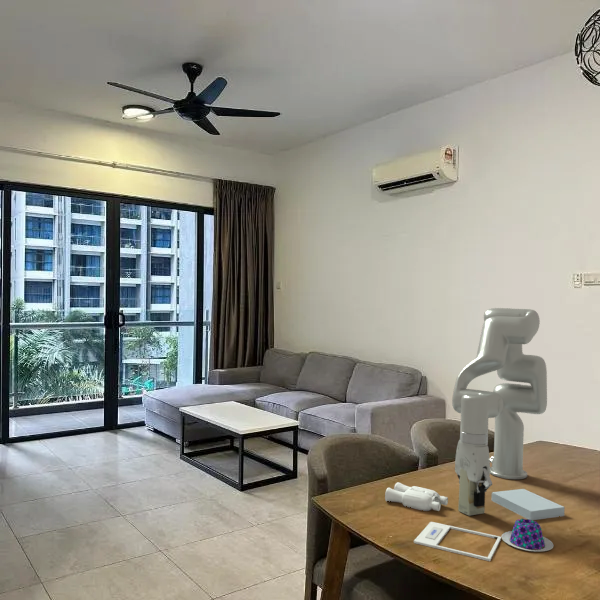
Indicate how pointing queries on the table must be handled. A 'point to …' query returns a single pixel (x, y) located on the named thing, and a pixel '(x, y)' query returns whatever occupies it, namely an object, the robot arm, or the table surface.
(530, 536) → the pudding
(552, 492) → the table surface
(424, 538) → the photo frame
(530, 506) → the pale blue flat board
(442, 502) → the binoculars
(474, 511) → the skincare box
